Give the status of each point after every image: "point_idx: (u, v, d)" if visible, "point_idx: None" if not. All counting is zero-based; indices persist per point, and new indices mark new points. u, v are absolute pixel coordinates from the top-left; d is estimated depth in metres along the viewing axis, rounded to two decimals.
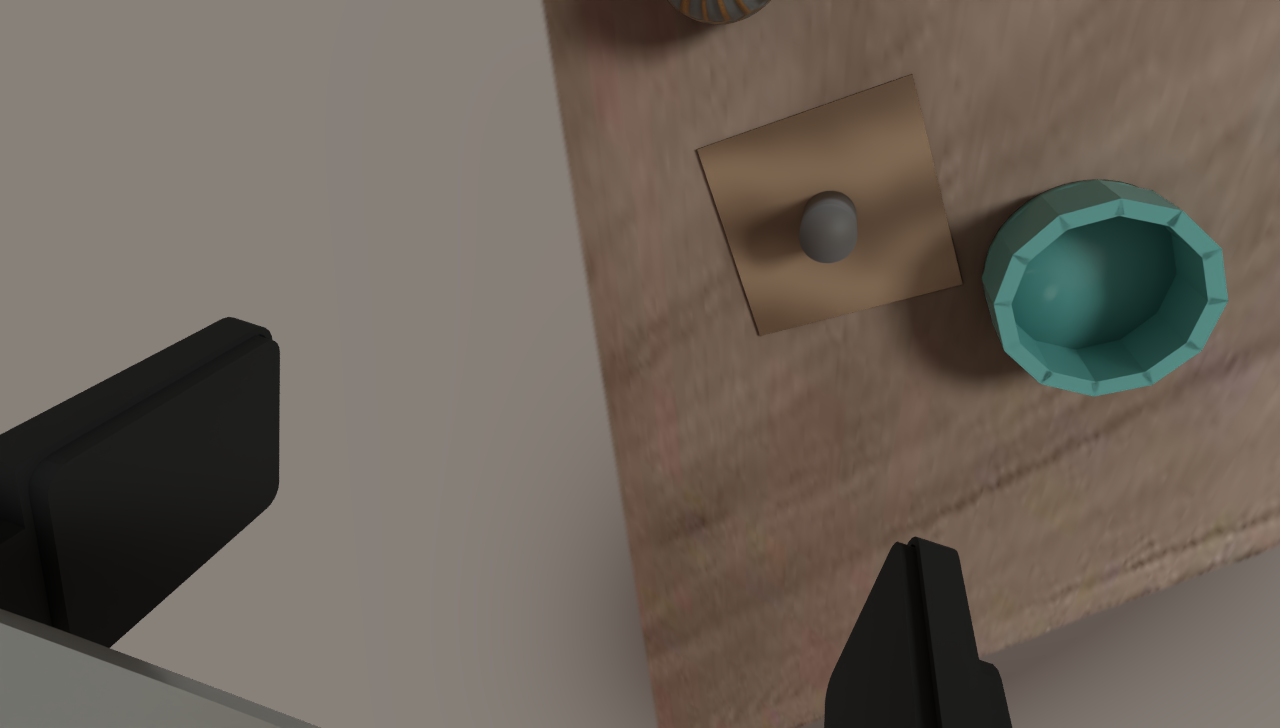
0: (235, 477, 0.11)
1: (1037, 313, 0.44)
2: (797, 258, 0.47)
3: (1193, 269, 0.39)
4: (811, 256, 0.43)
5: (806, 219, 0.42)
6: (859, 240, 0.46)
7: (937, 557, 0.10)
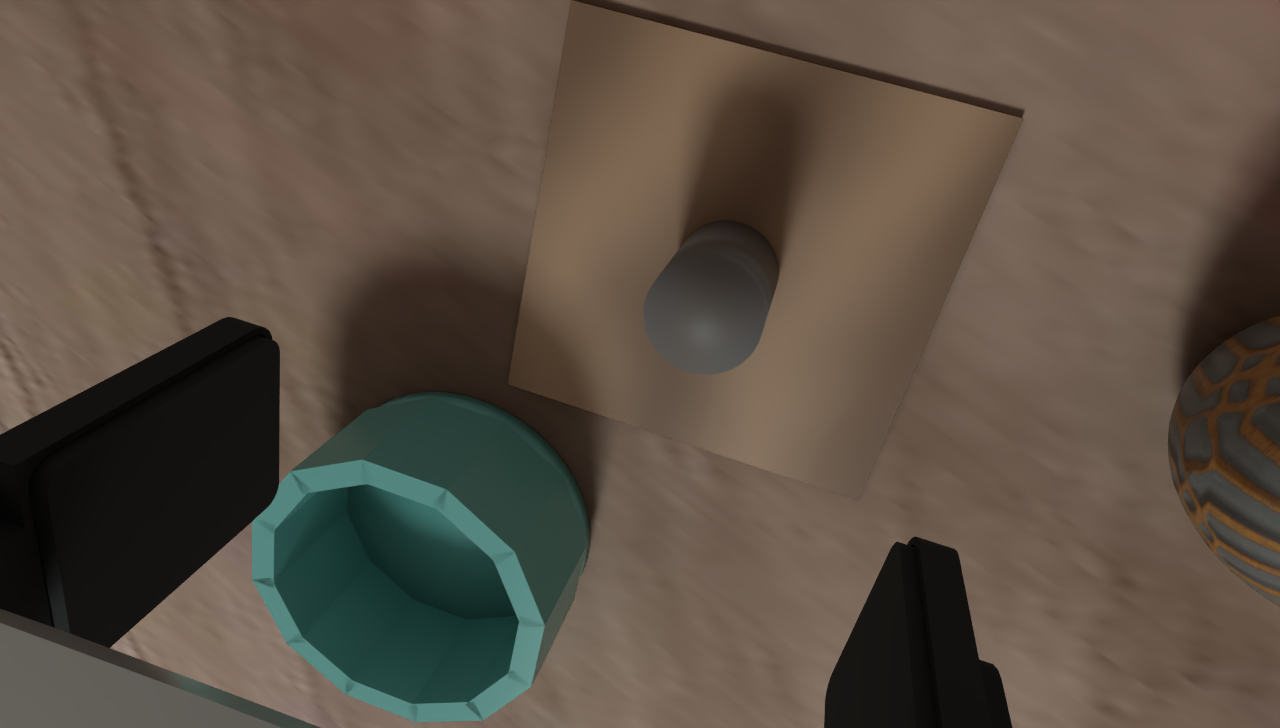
0: (235, 477, 0.11)
1: None
2: (686, 173, 0.22)
3: (405, 659, 0.28)
4: (681, 267, 0.19)
5: (757, 302, 0.19)
6: None
7: (937, 557, 0.10)
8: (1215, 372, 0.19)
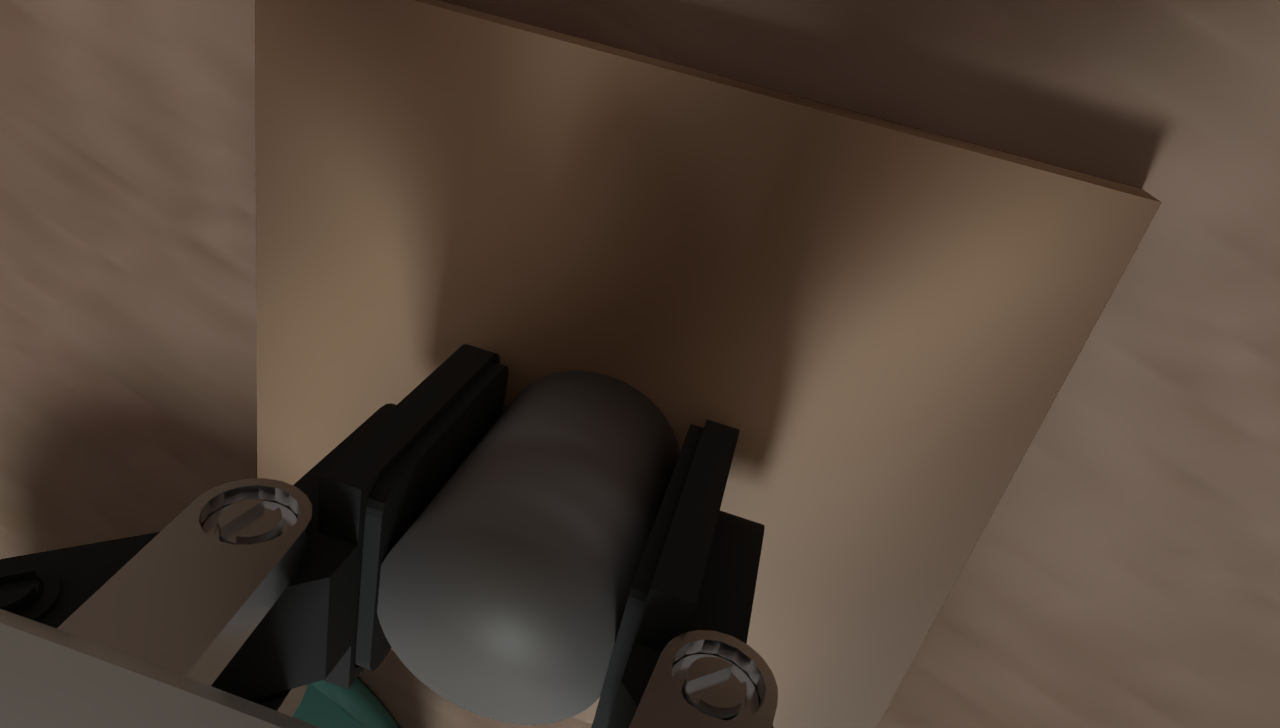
0: None
1: None
2: (503, 286, 0.12)
3: None
4: (436, 534, 0.09)
5: (600, 612, 0.09)
6: None
7: (718, 433, 0.11)
8: None
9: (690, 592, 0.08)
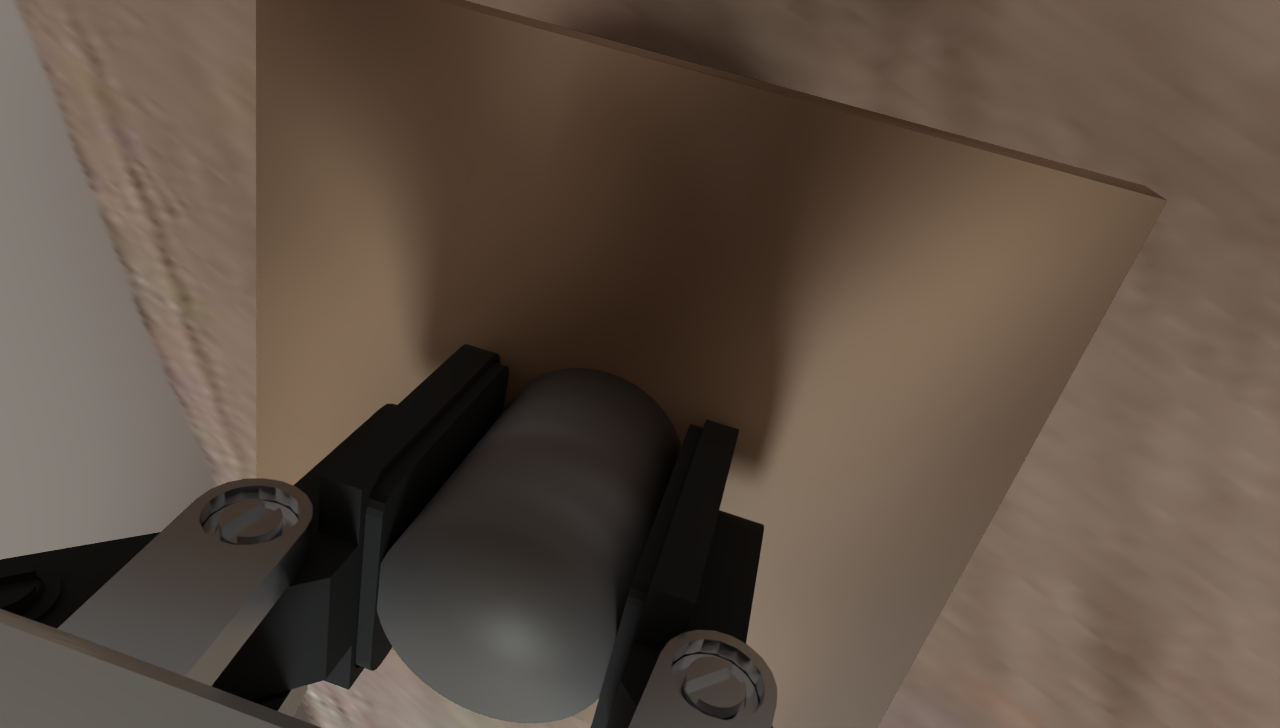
0: None
1: None
2: (504, 283, 0.12)
3: None
4: (436, 531, 0.09)
5: (602, 610, 0.09)
6: None
7: (718, 432, 0.11)
8: None
9: (689, 591, 0.08)
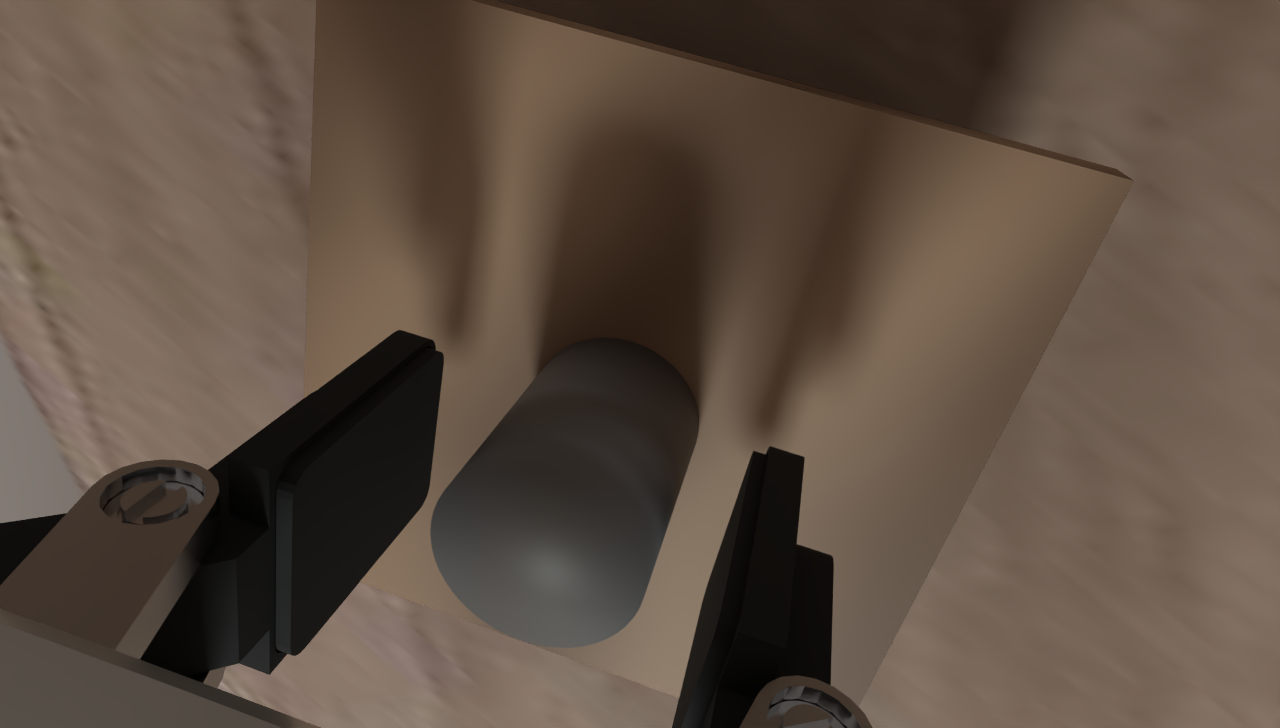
0: (404, 480, 0.12)
1: None
2: (538, 259, 0.13)
3: None
4: (488, 471, 0.10)
5: (634, 540, 0.10)
6: None
7: (784, 461, 0.11)
8: None
9: (779, 634, 0.08)
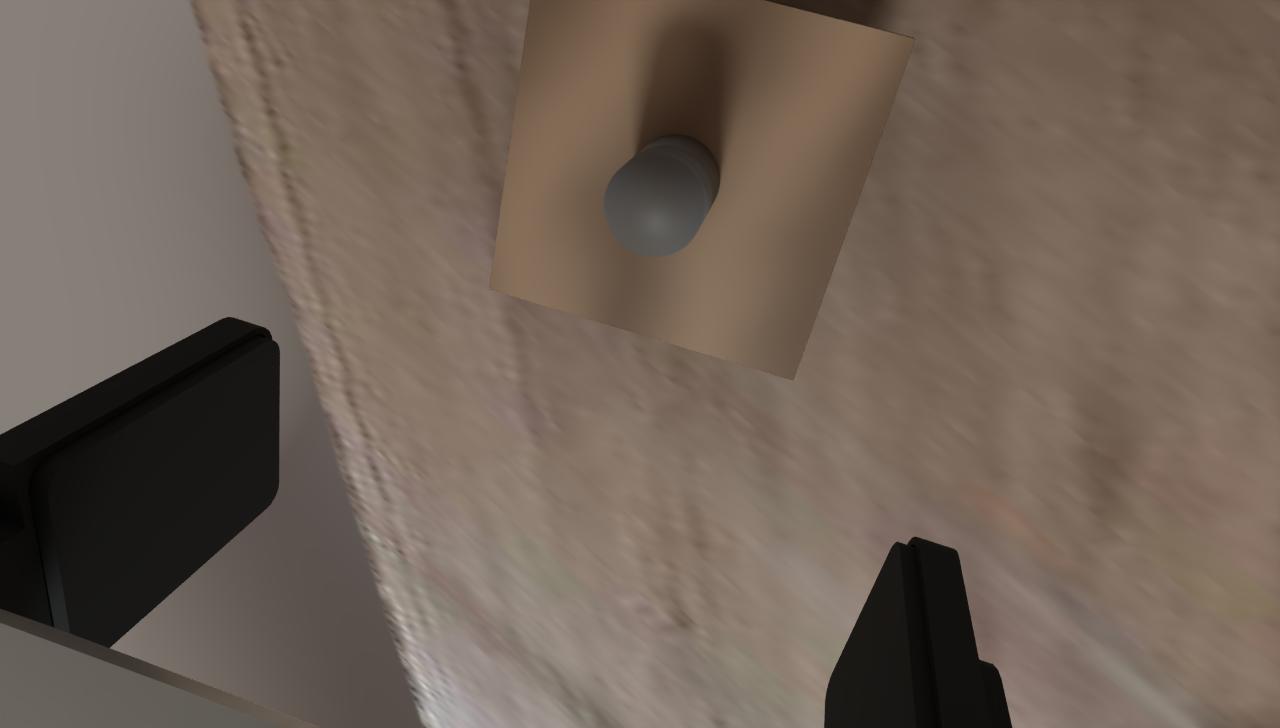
0: (235, 477, 0.11)
1: None
2: (639, 93, 0.26)
3: None
4: (634, 164, 0.23)
5: (697, 192, 0.23)
6: None
7: (937, 557, 0.10)
8: None
9: None
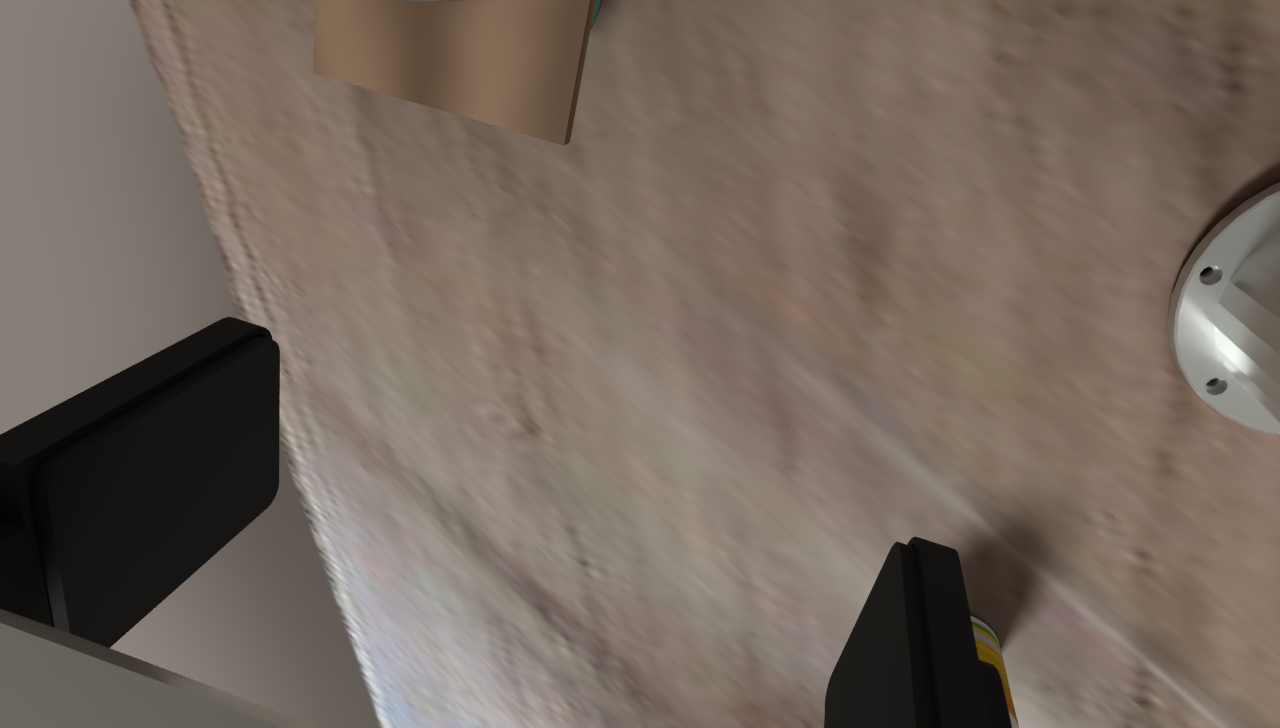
0: (235, 477, 0.11)
1: None
2: None
3: None
4: None
5: None
6: None
7: (937, 557, 0.10)
8: None
9: None
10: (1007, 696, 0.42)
